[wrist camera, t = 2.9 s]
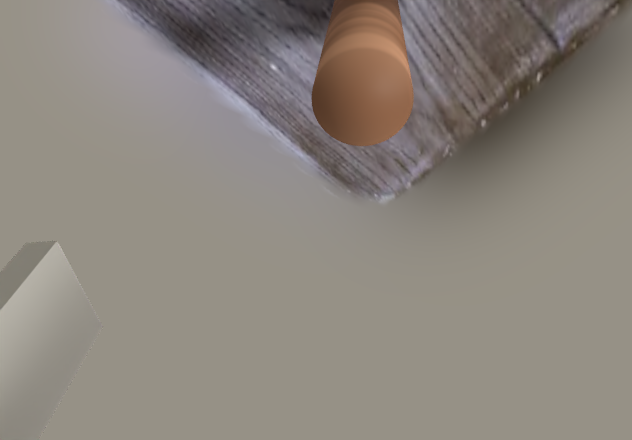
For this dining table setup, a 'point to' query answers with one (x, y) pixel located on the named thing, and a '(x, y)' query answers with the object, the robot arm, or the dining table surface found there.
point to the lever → (363, 73)
